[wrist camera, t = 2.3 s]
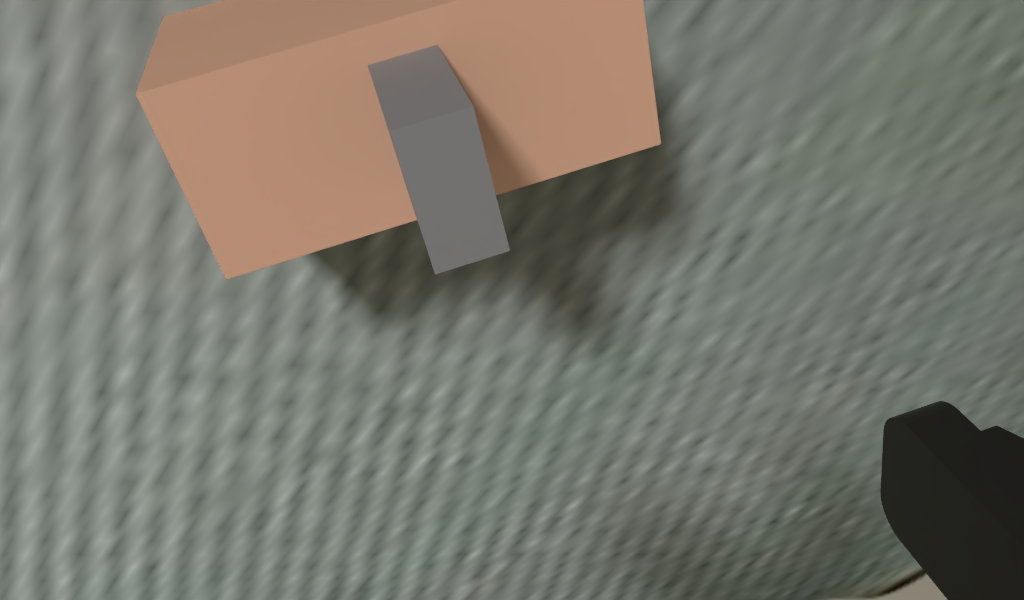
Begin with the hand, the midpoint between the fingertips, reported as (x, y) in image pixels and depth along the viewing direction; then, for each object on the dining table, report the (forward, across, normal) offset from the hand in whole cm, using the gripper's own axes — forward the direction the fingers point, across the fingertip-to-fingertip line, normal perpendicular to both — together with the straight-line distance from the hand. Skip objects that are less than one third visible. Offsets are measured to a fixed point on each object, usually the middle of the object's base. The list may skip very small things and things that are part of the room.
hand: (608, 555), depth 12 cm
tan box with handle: (+24, 0, 0) cm, 25 cm away
